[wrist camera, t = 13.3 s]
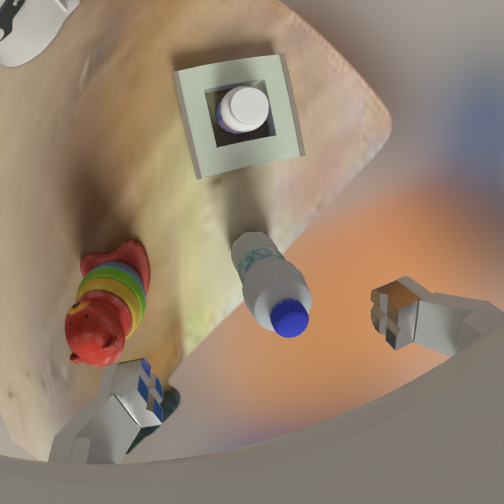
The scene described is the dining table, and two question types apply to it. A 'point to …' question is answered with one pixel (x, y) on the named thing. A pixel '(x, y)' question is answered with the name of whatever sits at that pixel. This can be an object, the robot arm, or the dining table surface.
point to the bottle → (271, 285)
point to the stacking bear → (108, 303)
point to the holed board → (227, 77)
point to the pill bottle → (242, 110)
